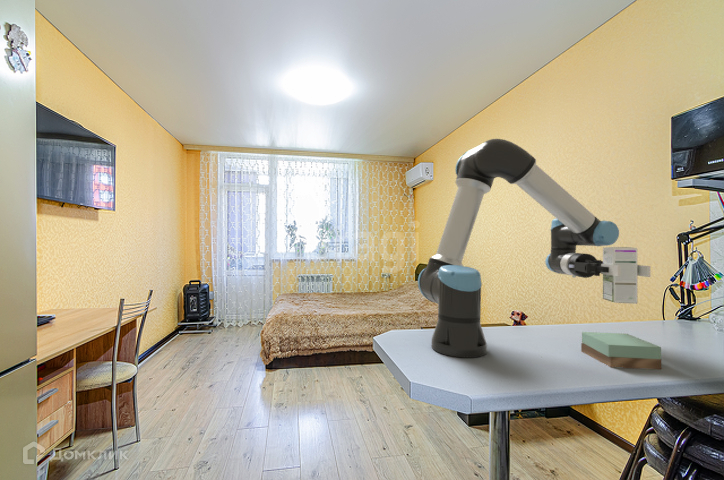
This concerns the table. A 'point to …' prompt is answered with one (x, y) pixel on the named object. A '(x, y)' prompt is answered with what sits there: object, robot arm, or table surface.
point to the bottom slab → (621, 360)
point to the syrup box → (626, 284)
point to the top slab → (621, 345)
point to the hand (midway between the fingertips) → (633, 271)
